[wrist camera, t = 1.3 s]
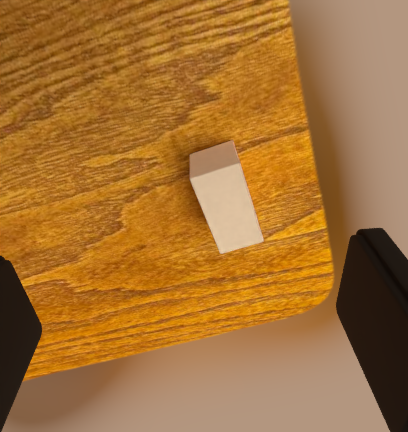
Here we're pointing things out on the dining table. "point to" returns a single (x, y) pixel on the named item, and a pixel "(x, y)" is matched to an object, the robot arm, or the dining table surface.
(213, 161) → the eraser
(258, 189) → the dining table surface
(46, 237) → the dining table surface
